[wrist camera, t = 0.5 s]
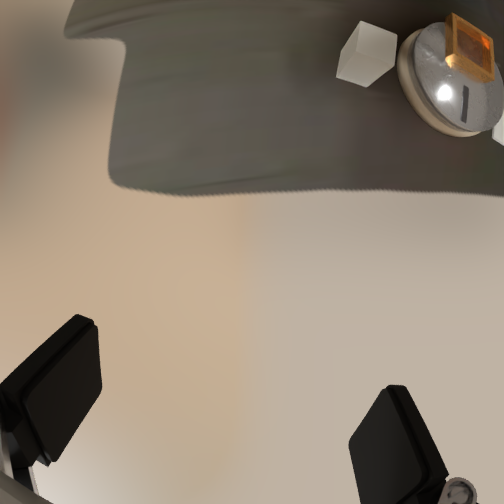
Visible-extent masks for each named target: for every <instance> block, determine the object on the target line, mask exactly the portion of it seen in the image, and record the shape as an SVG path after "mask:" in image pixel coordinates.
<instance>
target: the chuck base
mask: <svg viewBox="0 0 504 504" xmlns="http://www.w3.org/2000/svg"><path fill="white" fill-rule="evenodd" d="M423 29H425V28H423ZM423 29H419V30H417V31H415V32H414V33H412V34H411V35H410V36H409V37H408V38H407V39H406V40H405V41H404V42H403V43H402V45H401V46H400V49H399V51H398V55H397V73H398V78H399V82H400V85H401V88H402V90H403V92H404V95H405V96H406V98H407V100H408V102H409V103H410V105H411V107H412V108H413V109H414V111H415V112H416V113H417V114H418V116H419V117H420V118H421V119H422V120H423V121H424V122H425V123H427V124H428V125H429V126H430V127H432V128H433V129H434V130H436V131H438V132H440V133H442V134H444V135H447V136H451V137H465V136H472V135H476V134H478V133H480V132H481V131H478V132H467V133H466V132H459V131H456V130H453V129H451V128H449V127H447V126H446V125H444V124H443V123H441V122H440V121H439V120H438V119H437V118H435V117H434V116H433V115H432V114H431V113H430V111H429V110H428V109H427V108H426V107H425V105H424V104H423V103H422V101H421V99H420V98H419V96H418V94H417V93H416V91H415V89H414V86H413V84H412V81H411V78H410V75H409V71H408V65H407V53H408V48H409V45H410V43H411V41H412V39H413V38H414V37H415V36H416V35H417V34H418V33H420V32H421V31H422V30H423Z"/></svg>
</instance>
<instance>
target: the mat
mask: <svg viewBox="0 0 504 504" xmlns="http://www.w3.org/2000/svg"><path fill="white" fill-rule="evenodd" d="M492 138H493V139H494V140H496V141H497V142H499V143H500V144H502V145H503V146H504V111H503V114H502V117H501V119H500V120H499V122H498V123H497V124H496V125H495V126H494V127H493V132H492Z"/></svg>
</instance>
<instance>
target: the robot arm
mask: <svg viewBox="0 0 504 504" xmlns="http://www.w3.org/2000/svg"><path fill="white" fill-rule="evenodd" d="M101 390H102V378H101V369H100V356H99V341H98V328H97V326H96V325H94V321H93V320H92V319H89V318H87V317H84V316H82V315H79V314H76V315H74V316H73V317H72V318H71V319H70V320H69V321H68V322H66V323H65V324H64V325H63V326H62V327H61V328H59V329H58V330H57V331H56V332H55V333H54V334H53V335H52V336H51V337H49V338H48V339H47V340H46V341H45V342H44V343H43V344H42V345H40V346H39V347H38V348H37V349H36V350H35V351H34V352H33V353H32V354H31V355H30V356H29V357H27V358H26V359H25V361H23V362H22V363H21V364H20V365H19V366H18V367H17V368H16V369H15V370H14V371H13V372H12V373H11V374H10V375H9V376H8V377H7V378H6V379H5V380H4V381H3V382H2V383H1V384H0V504H53V503H51V502H49V501H48V500H46V499H44V498H42V497H41V496H39V493H38V489H37V485H36V482H35V478H34V474H33V470H32V466H33V464H34V462H35V461H36V460H37V461H39V462H40V463H42V464H44V465H45V466H49V465H50V463H51V462H56V461H57V460H58V459H59V457H60V455H61V454H62V452H63V451H64V449H65V447H66V446H67V444H68V443H69V441H70V440H71V438H72V436H73V435H74V433H75V432H76V430H77V429H78V427H79V425H80V424H81V422H82V421H83V419H84V418H85V416H86V415H87V413H88V412H89V410H90V409H91V407H92V405H93V404H94V403H95V401H96V400H97V398H98V397H99V395H100V393H101ZM349 451H350V455H351V460H352V464H353V469H354V474H355V478H356V483H357V487H358V492H359V497H360V502H361V504H478V503H477V502H476V501H477V493H476V490H475V488H474V486H473V485H472V484H471V483H470V482H469V481H468V480H466V479H464V478H460V477H455V478H452V479H450V480H449V481H447V482H446V480H445V478H446V477H447V476H448V475H449V473H448V471H447V469H446V467H445V464H444V462H443V460H442V458H441V456H440V453H439V451H438V449H437V447H436V445H435V443H434V441H433V439H432V437H431V435H430V433H429V430H428V429H427V426H426V424H425V422H424V420H423V418H422V417H421V414H420V413H419V411H418V409H417V407H416V405H415V403H414V401H413V399H412V397H411V395H410V393H409V391H408V390H407V388H406V387H405V386H403V385H388V386H387V387H386V388H385V389H383V390H382V391H381V392H380V394H379V395H378V397H377V398H376V400H375V402H374V403H373V405H372V407H371V408H370V410H369V411H368V413H367V414H366V416H365V417H364V419H363V420H362V422H361V423H360V425H359V426H358V428H357V429H356V431H355V432H354V434H353V435H352V436H351V438H350V440H349Z"/></svg>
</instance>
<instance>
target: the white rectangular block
mask: <svg viewBox="0 0 504 504" xmlns="http://www.w3.org/2000/svg"><path fill="white" fill-rule="evenodd" d="M396 45H397V35H396V34H394V33H392V32H389V31H387V30H384V29H382V28H379V27H376V26H374V25H371V24H368V23H365V22H363V21H360V22H359V24H358V25H357V27H356V28H355V30H354V32H353V33H352V35H351V36H350V38H349V39H348V41H347V42H346V44H345V46H344V47H343V49H342V50H341V53H340V59H339V64H338V69H337V75H336V78H339V79H343V80H346V81H349V82H352V83H355V84H358V85H361V86H364V87H368V86H369V85H370V84H372V83H373V82H374V81H375V80H377V79H378V78H379V77H380V76H382V75H383V74H384V73H386V72H387V71H388V70H389V69H391V68H392V67H393V66H394V64H395V55H396Z"/></svg>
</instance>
